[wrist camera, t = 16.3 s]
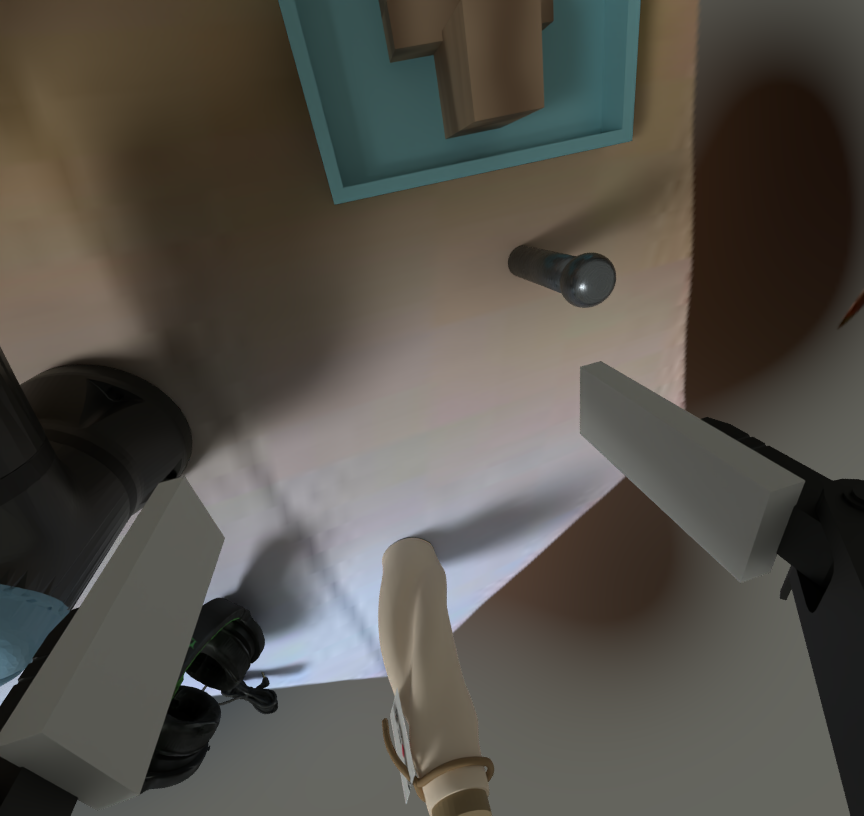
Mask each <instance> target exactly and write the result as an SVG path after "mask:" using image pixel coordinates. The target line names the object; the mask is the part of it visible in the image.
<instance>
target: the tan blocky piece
mask: <svg viewBox="0 0 864 816" xmlns="http://www.w3.org/2000/svg"><path fill="white" fill-rule="evenodd" d="M378 1H379V6H380V11H381V17H382V22H383V28H384V33H385V39H386V44H387V49H388V55H389V60H390V63H392V62H397V61H403V60H409V59H414V58H420V57H425V56H431V55H434V61H435V69H436V76H437V83H438V90H439V97H440V104H441V111H442V118H443V126H444V133H445V139H449V138H454V137H459V136H464V135H469V134H474V133H478V132H483V131H488V130H493V129H498V128H502V127H504V126H506V125H508V124H510V123H512V122H514V121H517V120H519V119H521V118H523V117H525V116H527V115H529V114H531V113H534V112H536V111H538V110H540V109H542V108H544V82H543V52H542V30H544V29H545V28H546V27H547V26H548V25H549V24H551V23H552V22H553V21H554V12H553V0H378Z"/></svg>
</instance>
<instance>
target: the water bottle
mask: <svg viewBox="0 0 864 816" xmlns="http://www.w3.org/2000/svg"><path fill="white" fill-rule="evenodd" d="M382 565H383V576H382V582H381V588H380V596H379V609H378V623H379V639H380V646H381V652H382V656H383V661H384V665H385V668H386V671H387V675H388V678H389V681H390V684H391V686H392V689H393V692H394V695H395V698H394V702H393V707H392V711H391V715H390V717H391V723H392V728H393V734H394V739H395V745H396V751H397V753H396V751H395V749H394V747H393V745H392V742H391V738H390V734H389V725H388V720H387V718H384V719H383V721H382V727H383V737H384V741H385V745H386V748H387V751H388V753H389V755H390V757H391V759H392V761H393V762H394V764H395V765H396V767H397V768H398V769H399V771H400V773H401V779H402V784H403V790H404V796H405V802H406V804H407V801H408V797H409V794H410V790H411V786H412V784H413V785H414V787H415V790H416V792H417V794H418V796H419V798H420V799H421V800H422V801H424V802H426V804H427V808H428V812H429V814H430V816H492V813H491V809H490V805H489V801H488V796H489V786H488V782H489V781H490V779H491V778H492V776H493V773H494V765H493V763H492V761H491V760H490V759H489V758H487V757H482V756H481V751H480V746H479V736H478V735H479V734H478V733H479V732H478V719H477V714H476V711H475V708H474V705H473V702H472V699H471V697H470V694H469V691H468V689H467V687H466V685H465V682H464V678H463V674H462V671H461V667H460V663H459V659H458V655H457V651H456V646H455V642H454V638H453V633H452V629H451V624H450V620H449V615H448V610H447V582H446V574H445V571H444V569H443V567H442V566H441V564H440V562H439V560H438V558H437V556H436V554H435V551H434V548H433V546H432V545H431V544H430V543H429V542H427V541H425V540H423V539H419V538H406V539H402V540H399V541H397V542H396V543H394V544H392V545H391V546H390V547H389V548H388V549H387V550H386V551H385V553H384V555H383V558H382ZM403 715H404V716H405V718H406V720H407V722H408V724H409V734H410V735H409V736H410V747H409V742H408V737H407V733H406V727H405V722H404V717H403ZM410 750H411V751H410ZM412 760H413V761H412ZM413 764H414V766H413ZM484 766H486V767H487V768H488V769H487V772H485V768H484ZM414 767H415V770H416V773H417V775H418V778H417V777H416V776H415V771H414ZM407 780H408V781H409V782H410V785H408V783H407Z"/></svg>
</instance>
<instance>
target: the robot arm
mask: <svg viewBox="0 0 864 816" xmlns="http://www.w3.org/2000/svg"><path fill="white" fill-rule="evenodd" d="M580 434H581V435H582V436H583V437H584V438H585V439H586V440H588V441H589V442H590V443H591V444H592V445H593V446H594V447H595V448H596V449H597V450H598V451H599V452H600V453H602V454H603V455H604V456H605V457H606V458H607V459H608V460H609V461H610V462H611V463H612V464H613V465H614V466H615V467H617V468H618V469H619V470H620V471H621V472H622V473H623V474H624V475H625V476H626V477H627V478H629V480H631V481H632V482H633V483H634V484H635V485H636V486H637V487H638V488H639V489H640V490H641V491H642V492H644V493H645V494H646V495H647V496H648V497H649V498H650V499H651V500H652V501H653V502H654V503H655V504H656V505H657V506H659V507H660V508H661V509H662V510H663V511H664V512H665V513H666V514H667V515H668V516H669V517H670V518H672V519H673V520H674V521H675V522H676V523H677V524H678V525H679V526H680V527H681V528H682V529H683V530H684V531H685V532H687V533H688V534H689V535H690V536H691V537H692V538H693V539H694V540H695V541H696V542H697V543H698V544H699V545H700V546H702V547H703V548H704V549H705V550H706V551H707V552H708V553H709V554H710V555H711V556H712V557H713V558H714V559H715V560H717V561H718V562H719V563H720V564H721V565H722V566H723V567H724V568H725V569H726V570H727V571H728V572H729V573H731V574H732V575H733V576H734V577H735V578H736V579H737V580H738V581H739V582H740V583H742V582H745V581H747V580H750V579H753V578H756V577H759V576H762V575H764V574H767V573H770V572H771V569H772V566H773V564H774V561H775V559H776V556H777V554H778V555H779V556H780V557H782V558H783V559H784V560H786V561H787V562H788V563H789V564H791V567H790V569H789V571H788V574H787V576H786V578H785V581H784V584H783V586H782V588H781V591H780V599H783V600H787V597H788V595H789V593H790V591H791V590H792V591H793V595H794V599H795V603H796V607H797V611H798V615H799V618H800V622H801V626H802V630H803V634H804V638H805V642H806V646H807V649H808V653H809V657H810V661H811V664H812V668H813V672H814V676H815V680H816V684H817V688H818V692H819V696H820V699H821V704H822V707H823V711H824V715H825V719H826V723H827V727H828V731H829V734H830V738H831V742H832V746H833V750H834V753H835V757H836V761H837V765H838V769H839V773H840V777H841V780H842V785H843V788H844V792H845V796H846V800H847V804H848V808H849V811H850V816H864V480H859V479H839V480H834V481H833V480H830V479H828V478H826V477H825V476H823V475H821V474H819V473H818V472H816V471H814V470H812V469H810V468H809V467H807V466H805V465H803V464H801V463H799V462H798V461H796V460H794V459H792V458H790V457H789V456H787V455H785V454H783V453H781V452H779V451H778V450H776V449H774V448H772V447H770V446H766V445H765V443H763V442H761V441H760V440H758V439H756V438H754V437H750V436H749V435H748V434H747V433H745V432H743V431H741V430H740V429H738V428H736V427H734V426H733V425H731V424H728V423H725V422H722V421H718V420H715V419H712V418H709V417H706V418H702V419H699V418H697V417H696V416H694V415H692V414H690V413H689V412H687V411H685V410H684V409H682V408H680V407H678V406H677V405H675V404H673V403H672V402H670V401H668V400H666V399H665V398H663V397H661V396H660V395H658V394H656V393H654V392H653V391H651V390H649V389H648V388H646V387H644V386H643V385H641V384H639V383H637V382H636V381H634V380H632V379H631V378H629V377H627V376H625V375H624V374H622V373H620V372H619V371H617V370H615V369H613V368H612V367H610V366H608V365H607V364H605V363H603V362H601V361H600V362H596V363H592V364H589V365H585V366H582V367H580ZM191 450H192V436H191V432H190V428H189V425H188V423H187V421H186V419H185V417H184V415H183V414H182V412H181V411H180V409H179V408H178V407H177V405H176V404H175V403H174V402H173V401H172V400H171V399H170V398H169V397H168V396H167V395H166V394H164V393H163V392H162V391H161V390H159V389H158V388H156V387H155V386H153V385H152V384H150V383H148V382H147V381H145V380H143V379H141V378H139V377H137V376H134V375H132V374H129V373H126V372H123V371H120V370H117V369H113V368H108V367H103V366H95V365H70V366H63V367H58V368H54V369H50V370H48V371H45V372H43V373H40V374H38V375H36V376H35V377H33V378H31V379H29V380H28V381H26V382H24V383H22V384H21V385H20V384H19V382H18V381H17V379H16V377H15V375H14V373H13V371H12V369H11V367H10V365H9V363H8V361H7V359H6V357H5V355H4V353H3V351H2V349H1V347H0V686H2V685H4V684H5V683H7V682H9V681H10V680H12V679H13V678H15V677H16V676H18V675H19V674H20V673H21V672H22V671H23V670H24V669H25V670H24V671H23V673H22V674H21V676H20V677H19V679H18V684H17V685H14V686H13V688H12V689H11V691H10V692H9V694H8V695H7V697H6V698H5V700H4V701H3V703H2V704H1V706H0V816H71V813H72V811H73V808H74V806H75V804H76V802H77V800H79V801H81V802H83V803H85V804H86V805H88V806H90V807H92V808H94V809H95V810H100V809H103V808H106V807H109V806H112V805H115V804H117V803H120V802H123V801H126V800H129V799H132V798H134V797H137V796H139V795H140V792H141V789H142V786H143V783H144V780H145V777H146V774H147V771H148V768H149V765H150V762H151V759H152V756H153V753H154V750H155V747H156V744H157V741H158V738H159V735H160V732H161V729H162V726H163V723H164V720H165V717H166V714H167V711H168V708H169V705H170V702H171V699H172V696H173V693H174V690H175V687H176V684H177V681H178V678H179V675H180V672H181V669H182V666H183V663H184V660H185V657H186V654H187V651H188V648H189V645H190V641H191V638H192V635H193V632H194V629H195V626H196V623H197V620H198V617H199V614H200V611H201V608H202V605H203V602H204V599H205V596H206V593H207V590H208V587H209V584H210V581H211V578H212V575H213V572H214V569H215V566H216V563H217V560H218V557H219V554H220V551H221V548H222V545H223V542H224V539H225V538H224V536H223V534H222V533H221V531H220V530H219V528H218V527H217V525H216V524H215V522H214V521H213V519H212V518H211V516H210V514H209V513H208V511H207V510H206V508H205V507H204V505H203V504H202V502H201V501H200V499H199V498H198V496H197V494H196V493H195V491H194V490H193V488H192V487H191V485H190V484H189V482H188V481H187V479H186V478H185V476H183V477H180V475H181V473H182V472H183V470H184V468H185V466H186V465H187V463H188V461H189V458H190V455H191ZM142 508H143V509H142ZM140 509H142V510H141V512H140V513H139V515H138V516H137V518H136V520H135V521H134V523H133V524H132V526H131V527H130V529H129V531H128V532H127V534H126V535H125V537H124V538H123V540H122V542H121V543H120V545H119V546H118V548H117V549H116V551H115V553H114V554H113V556H112V557H111V559H110V560H109V562H108V564H107V565H106V567H105V568H104V570H103V571H102V573H101V575H100V576H99V578H98V579H97V581H96V582H95V584H94V586H93V587H92V589H91V590H90V592H89V593H88V595H87V597H86V598H85V600H84V601H83V603H82V604H81V606H80V607H79V608H76V609H73V610H72V608H73V607H74V605H75V604H76V602H77V600H78V599H79V597H80V596H81V594H82V593H83V591H84V589H85V588H86V586H87V585H88V583H89V582H90V580H91V578H92V577H93V575H94V574H95V572H96V570H97V569H98V567H99V566H100V564H101V563H102V561H103V559H104V558H105V556H106V555H107V553H108V552H109V550H110V548H111V547H112V545H113V544H114V542H115V540H116V539H117V537H118V536H119V534H120V533H121V531H122V529H123V528H124V526H125V525H126V523H127V522H128V520H129V519H130V517H131V516H132V515H133V514H135V513H136V512H137V511H139V510H140Z"/></svg>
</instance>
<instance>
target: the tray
mask: <svg viewBox="0 0 864 816" xmlns="http://www.w3.org/2000/svg"><path fill="white" fill-rule="evenodd" d="M278 2H279V5H280V9H281V13H282V16H283V20H284V23H285V27H286V31H287V34H288V38H289V42H290V45H291V49H292V52H293V56H294V60H295V63H296V67H297V71H298V74H299V78H300V81H301V85H302V89H303V92H304V96H305V99H306V103H307V107H308V110H309V114H310V118H311V121H312V125H313V128H314V132H315V136H316V139H317V143H318V146H319V150H320V154H321V157H322V161H323V165H324V168H325V172H326V175H327V179H328V183H329V186H330V190H331V194H332V197H333V201H334V204H335V205H336V204H341V203H345V202H350V201H355V200H359V199H364V198H368V197H373V196H378V195H382V194H387V193H392V192H396V191H401V190H406V189H410V188H415V187H420V186H424V185H429V184H434V183H438V182H443V181H448V180H452V179H457V178H462V177H466V176H471V175H476V174H480V173H485V172H490V171H494V170H499V169H504V168H508V167H513V166H518V165H522V164H527V163H532V162H536V161H541V160H546V159H550V158H555V157H560V156H564V155H569V154H574V153H578V152H583V151H588V150H592V149H597V148H602V147H606V146H611V145H615V144H620V143H624V142H629V141H632V136H633V120H634V103H635V86H636V70H637V53H638V36H639V20H640V3H641V0H553V12H554V21H553V22H552V23H551V24H549V25H548V26H547V27H546V28H545V29H544V30H542V52H543V82H544V108H542V109H540V110H538V111H536V112H534V113H531V114H529V115H527V116H525V117H523V118H521V119H519V120H517V121H514V122H512V123H510V124H508V125H506V126H504V127H502V128H498V129H493V130H488V131H483V132H478V133H474V134H469V135H464V136H459V137H454V138H449V139H445V133H444V126H443V118H442V111H441V104H440V97H439V90H438V83H437V76H436V69H435V61H434V55H431V56H425V57H420V58H414V59H409V60H403V61H397V62H392V63H390V60H389V55H388V49H387V44H386V39H385V33H384V28H383V22H382V17H381V11H380V6H379V1H378V0H278Z"/></svg>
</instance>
